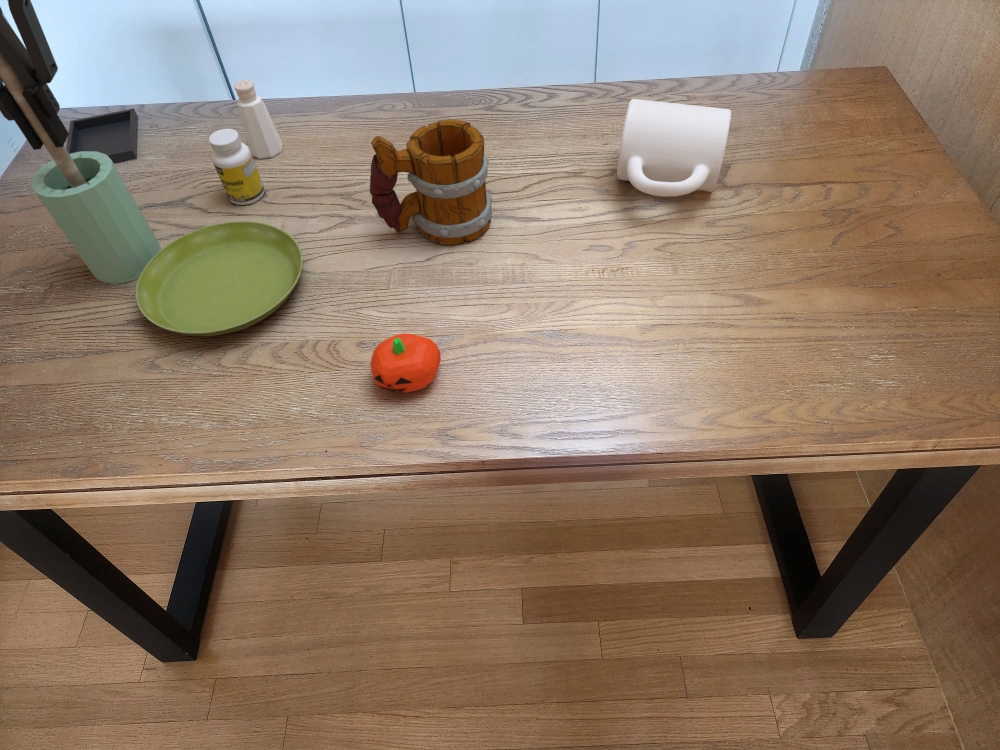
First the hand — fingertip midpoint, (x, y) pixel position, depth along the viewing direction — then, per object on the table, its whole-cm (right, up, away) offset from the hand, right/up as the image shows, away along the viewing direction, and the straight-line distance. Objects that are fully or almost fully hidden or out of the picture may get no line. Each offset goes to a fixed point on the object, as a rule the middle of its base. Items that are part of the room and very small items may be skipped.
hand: (51, 141), depth 77 cm
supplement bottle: (+14, 0, +23) cm, 27 cm away
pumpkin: (+41, -27, 0) cm, 50 cm away
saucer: (+17, -16, +10) cm, 25 cm away
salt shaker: (+15, +9, +30) cm, 34 cm away
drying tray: (-13, +11, +32) cm, 36 cm away
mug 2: (+76, 0, +20) cm, 78 cm away
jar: (+1, -11, +14) cm, 18 cm away
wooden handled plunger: (0, -8, +10) cm, 12 cm away
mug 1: (+43, -6, +17) cm, 47 cm away
